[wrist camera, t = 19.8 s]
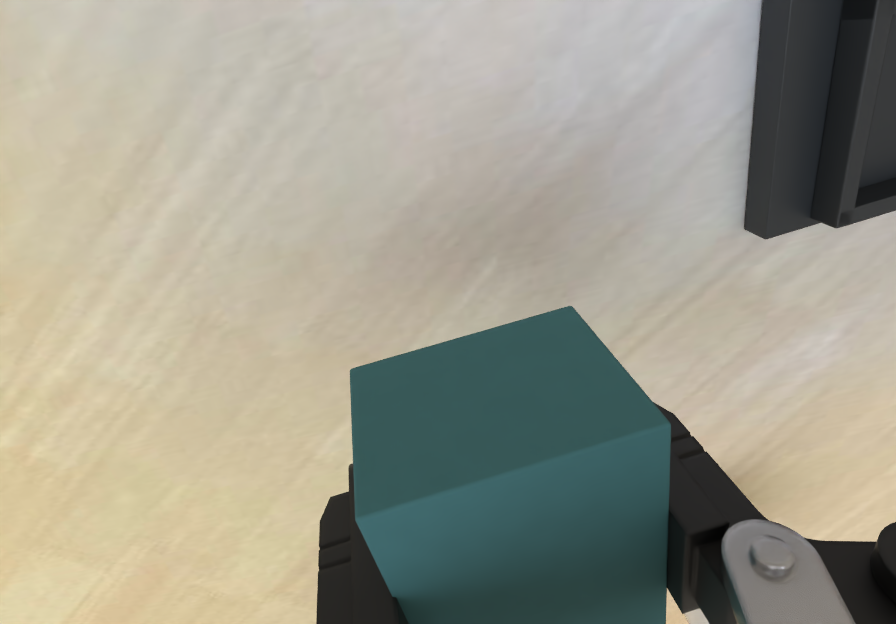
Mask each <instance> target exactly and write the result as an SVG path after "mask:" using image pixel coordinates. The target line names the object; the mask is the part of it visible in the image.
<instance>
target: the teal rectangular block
mask: <svg viewBox="0 0 896 624" xmlns="http://www.w3.org/2000/svg"><path fill="white" fill-rule="evenodd" d="M350 389H351V417H352V444H353V472H354V499H355V521H356V523H357V525H358V527H359V529H360V531H361V533H362V535H363V537H364V539H365V541H366V543H367V545H368V547H369V549H370V552H371V554H372V556H373V558H374V560H375V562H376V564H377V566H378V568H379V570H380V572H381V574H382V576H383V578H384V580H385V583H386V585H387V587H388V589H389V591H390V593H391V595H392V597H396V598H397V600H398V602H399V604H400V606H401V608H402V610H403V612H404V615H405V617H406V619H407V621H408V623H409V624H666V594H667V558H668V521H669V485H670V449H671V424H670V422H669V421H668V420H667V418H666V417H665V416H664V415H663V414H662V413H661V411H660V410H659V409H658V408H657V407H656V405H655V404H654V403H653V402H652V401H651V399H650V398H649V397H648V396H647V395H646V394H645V392H644V391H643V390H642V389H641V388H640V386H639V385H638V384H637V383H636V382H635V380H634V379H633V378H632V377H631V376H630V375H629V373H628V372H627V371H626V370H625V369H624V367H623V366H622V365H621V364H620V363H619V361H618V360H617V359H616V358H615V357H614V356H613V354H612V353H611V352H610V351H609V350H608V348H607V347H606V346H605V345H604V344H603V342H602V341H601V340H600V339H599V338H598V337H597V335H596V334H595V333H594V332H593V331H592V329H591V328H590V327H589V326H588V325H587V323H586V322H585V321H584V320H583V319H582V318H581V316H580V315H579V314H578V313H577V312H576V310H575V309H574V308H573V307H572V306H568V307H564V308H561V309H557V310H554V311H550V312H547V313H543V314H540V315H536V316H533V317H529V318H526V319H522V320H519V321H515V322H512V323H509V324H505V325H502V326H498V327H495V328H491V329H488V330H484V331H481V332H477V333H474V334H470V335H467V336H463V337H460V338H456V339H453V340H449V341H446V342H442V343H439V344H436V345H432V346H429V347H425V348H422V349H418V350H415V351H411V352H408V353H404V354H401V355H397V356H394V357H390V358H387V359H383V360H380V361H376V362H373V363H370V364H366V365H363V366H359V367H356V368H352V369H351V370H350Z"/></svg>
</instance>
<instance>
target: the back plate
mask: <svg viewBox="0 0 896 624" xmlns="http://www.w3.org/2000/svg"><path fill="white" fill-rule="evenodd" d="M895 210H896V0H763V6H762V18H761V31H760V43H759V55H758V68H757V80H756V93H755V105H754V117H753V130H752V142H751V154H750V167H749V179H748V192H747V204H746V216H745V230H747V231H749V232H751V233H753V234H755V235H757V236H760V237H762V238H764V239H769V238H772V237H776V236H779V235H782V234H785V233H789V232H792V231H795V230H798V229H802V228H805V227H808V226H812V225H815V224H818V223H824V224H826V225H829V226H831V227H834V228H840V227H843V226H846V225H850V224H853V223H856V222H859V221H863V220H866V219H869V218H872V217H876V216H879V215H882V214H886V213H889V212H892V211H895Z"/></svg>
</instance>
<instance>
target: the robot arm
mask: <svg viewBox="0 0 896 624" xmlns="http://www.w3.org/2000/svg"><path fill="white" fill-rule="evenodd" d="M653 403H654V402H653ZM654 404H655V403H654ZM655 405H656V407H657V408H658V409H659V410H660V411H661V413H662V414H663V415H664V416H665V417H666V418H667V420H668V421H669V422H670V424H671V449H670V485H669V521H668V558H667V588H668V590H669V592H670V593H671V595H672V597H673V598H674V600H675V602H676V604H677V605H678V607H679V609H680V610H681V612H682V614H684V613H687V612H690V611H693V610H696V609H699V608H700V609H701V611H702V612H703V614H704V616H705V617H706V619H707V620H708V622H709V624H896V522H895V523H892V524H889V525H888V526H886V527H885V528H884V529H883V530H882V531H881V533H880V535H879V537H878V540H877V542H855V541H819V540H812V539H807V538H804V537H802V536H801V535H800V534H798V533H797V532H795V531H793V530H792V529H790V528H788V527H786V526H783V525H781V524H778V523H775V522H772V521H769V520H768V519H766V518H765V517H764V516H763V515H762V514H761V513H760V512H759V511H758V510H757V509H756V508H755V507H754V506H753V505H752V503H751V502H750V501H749V500H748V499H747V498H746V496H745V495H744V494H743V493H742V492H741V491H740V490H739V488H738V487H737V486H736V485H735V484H734V483H733V482H732V480H731V479H730V478H729V477H728V476H727V475H726V473H725V472H724V471H723V470H722V469H721V468H720V467H719V465H718V464H717V463H716V462H715V461H714V460H713V459H712V457H711V456H710V455H709V454H708V453H707V452H705V451H704V450H703V447H702V446H701V445H700V444H699V442H698V441H697V440H696V439H695V438H694V437H693V436H691V435H690V432H689V431H688V430H687V429H686V428H685V426H684V425H683V424H682V423H681V422H680V421H679V420H678V418H677V417H676V416H675V415H674V414H673V413H671V412H669V411H667V410H666V409H664V408H662V407H661V406H659V405H657V404H655ZM319 547H320V550H319V565H318V566H319V571H318V594H317V624H409V623H408V621H407V619H406V617H405V615H404V612H403V610H402V608H401V606H400V604H399V602H398V600H397V598H396V597H392V595H391V593H390V591H389V589H388V587H387V585H386V583H385V580H384V578H383V576H382V574H381V572H380V570H379V568H378V566H377V564H376V562H375V560H374V558H373V556H372V554H371V552H370V549H369V547H368V545H367V543H366V541H365V539H364V537H363V535H362V533H361V531H360V529H359V527H358V525H357V523H356V521H355V499H354V472H353V464H350V465H349V492H346V493H342V494H339V495H336V496H333V497H330V499H329V502H328V504H327V506H326V508H325V511H324V513H323V515H322V518H321V520H320V535H319Z"/></svg>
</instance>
